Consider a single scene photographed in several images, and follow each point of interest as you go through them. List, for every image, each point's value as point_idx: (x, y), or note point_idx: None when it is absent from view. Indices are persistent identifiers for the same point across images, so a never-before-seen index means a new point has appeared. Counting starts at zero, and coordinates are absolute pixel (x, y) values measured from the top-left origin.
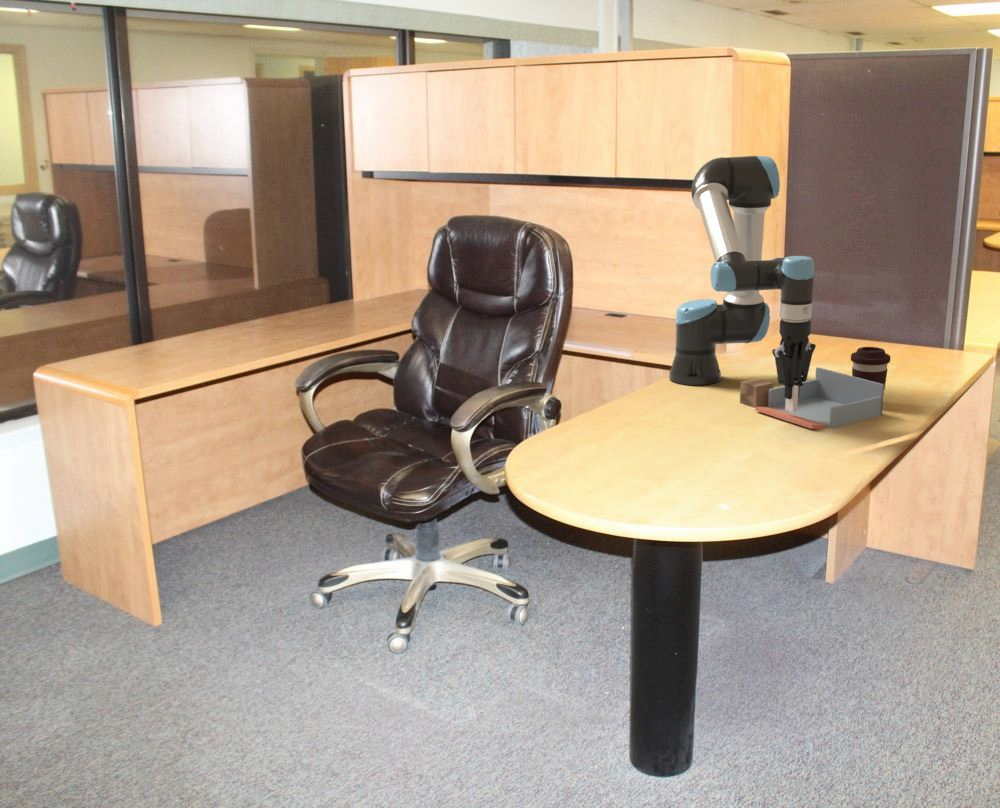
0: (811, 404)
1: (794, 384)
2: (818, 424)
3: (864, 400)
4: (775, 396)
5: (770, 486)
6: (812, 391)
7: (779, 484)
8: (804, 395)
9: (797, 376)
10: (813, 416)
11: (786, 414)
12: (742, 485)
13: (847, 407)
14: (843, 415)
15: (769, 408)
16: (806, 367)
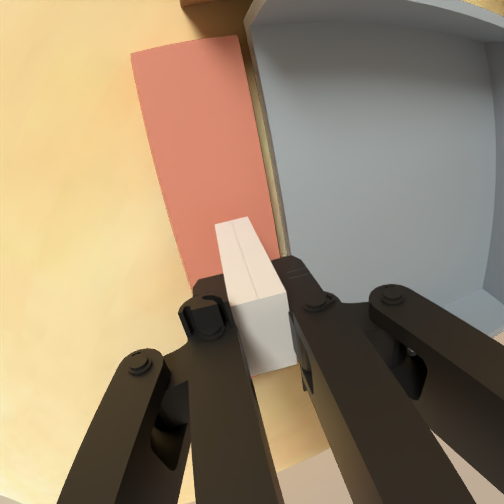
0: (432, 97)
1: (292, 337)
2: None
3: None
4: (300, 7)
5: (40, 482)
6: (487, 37)
7: (53, 484)
8: (453, 30)
9: (320, 419)
10: (339, 242)
11: (223, 212)
12: (6, 466)
13: None
14: None
15: (208, 72)
16: (449, 439)
